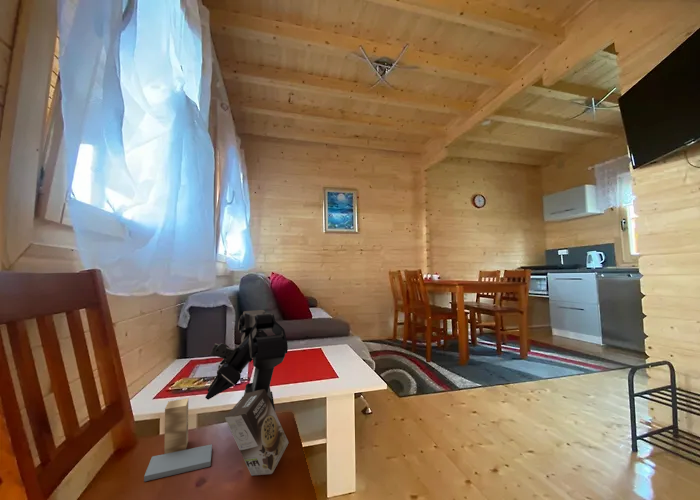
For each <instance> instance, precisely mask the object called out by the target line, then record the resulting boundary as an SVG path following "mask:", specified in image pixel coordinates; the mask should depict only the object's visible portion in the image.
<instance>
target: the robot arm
mask: <svg viewBox="0 0 700 500" xmlns="http://www.w3.org/2000/svg"><path fill="white" fill-rule="evenodd" d="M239 317H240V318H239V319H238V328H237V329H238V332H239V333H241V334H242V335H241V339H240V342H241V343H240V344H239V345H236V346H235V347H234V348H231V347H228V346H227V344H225V343H223V342H221V343H219V344H218V343H216V342H214V345H213V346H212V349H211V351H210V353H209V355H210V356H213V357H217V358H220V359H222V360H221V361H220V362H219V364H218V367H217V369H218V370H216V376H215V377H214V379H213V381H212V382H211V384H210V386H209V387H208V389H207V393H206V395H205V399H206V400H208V401H209V400H211V399H212V398H214V397H215V396H217V395H219V394H221V393H223V392H225V391H227V390H228V389H231V388H232V387H234V386H236V385H237V384H238V383H239V382H240V381H241V379H242V378H241V377H242V375H241V373H243V370H244V369H245V368H246V367H247V365H249V363H251V362H252V365H253V367H255V368H254V372H253V378H252V382H248V383H246V385H245V389H244V393H243V396H244V395H245V393H249V392H253V391H257V390H262V389H265V390H266V393H267V395H268V397H269V399H270V402H271V404H272V406H273V408H274V411H275V412H276V408H275V402H274V401H275V400H274V394H273V392H272V391H271V382H272V377H273V374H274V370H275V368H276V367H277V366H279V365H280V364H282V363H283V361H284V359H285V357H286V354H288V340H287V337H286V336H287V335H286V331H285V329H284V328H283V326H281V325H280V324H279V323H278V321H276V316H275V315H274V314H273V313H271V312H269V313H268V312H266V311H265V310H264V309H258V310H257V309H256V310H244V311H243V313H242V314H241V315H240V316H239ZM266 330H271V332H272V333H273V335H268V334H267V333H266Z"/></svg>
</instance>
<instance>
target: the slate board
mask: <svg viewBox="0 0 700 500" xmlns="http://www.w3.org/2000/svg"><path fill="white" fill-rule="evenodd" d="M212 452H213V444H212V443H211V444H206V445H201V446H198V447H197V446H196V447H193V448H186V450H182V451H177V452H172V453H167V454H163V453H162V454H158V455H152V456H151V459H150V461H149V464H148V466H147V468H146V471H145V474H144V476H143V482H144V483H145V482H148V481H154V480H157V479H161V478H166V477H171V476H175V475H179V474H183V473H188V472H192V471H196V470H200V469H201V470H202V469H204V468H209V467H211V464H212V456H213V455H212V454H213V453H212Z"/></svg>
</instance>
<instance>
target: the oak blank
mask: <svg viewBox="0 0 700 500" xmlns="http://www.w3.org/2000/svg"><path fill="white" fill-rule="evenodd" d="M188 444H189V398H181V399H175V400H170V401H168V402H167V404H166V406H165V408H164V454H167V453H172V452H177V451H182V450H186V449H188Z"/></svg>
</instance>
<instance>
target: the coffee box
mask: <svg viewBox="0 0 700 500" xmlns="http://www.w3.org/2000/svg"><path fill="white" fill-rule="evenodd" d="M244 393H245V392H244ZM224 419H225V422H226V423H227V425H228V428H229V430H230V433H231V434H232V437H233V439H234V441H235V443H236V445H237V447H238V449H239V452H240V454H241V456H242V459H243V461H244V463H245V465H246V468H247V469H248V471H249V474H250V476H252V477H253V476H261V475H262V476H264V475H265V476H266V475H272V474H273V473H274V472H275V469H276V467H278V464H279V462H280V460H281V458H282V457H283V454H284V453H285V450H286V448H287V447H288V446H289V445H288V444H289V443H290V442H289V440H288V438H287V436H286V434H285V431H284V429H283V426H282V424H281V423H280V420H279V417H278V415H277V413H276V410H275V411H274V408H273V406H272V404H271V402H270V399H269V397H268V395H267V393H266V390H265V389H262V390H257V391H253V392H249V393H245V395H244V394H243V395H242V396H241V398H240V399H239V400H238V402H237V403H236V404H235V405H234V406H233V408H231V410H229V412H228V414H226V416H224Z"/></svg>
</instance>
